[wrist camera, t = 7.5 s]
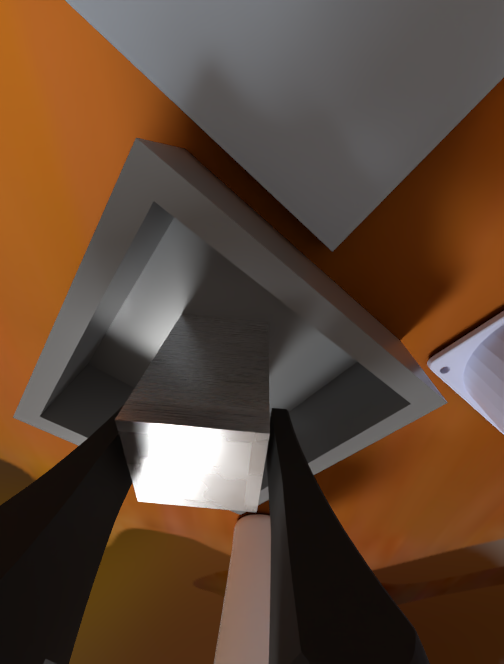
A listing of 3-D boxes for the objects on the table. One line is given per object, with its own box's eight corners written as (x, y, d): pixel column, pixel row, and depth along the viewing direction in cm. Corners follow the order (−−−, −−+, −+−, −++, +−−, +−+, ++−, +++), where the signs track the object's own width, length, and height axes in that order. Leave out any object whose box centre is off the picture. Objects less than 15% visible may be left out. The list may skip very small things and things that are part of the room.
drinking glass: (215, 522, 28) (171, 818, 15) (256, 500, 25) (245, 845, 12) (263, 542, 30) (259, 817, 17) (306, 524, 27) (340, 840, 14)
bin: (400, 340, 14) (447, 402, 11) (245, 451, 21) (240, 514, 17) (184, 148, 10) (136, 137, 6) (71, 359, 16) (13, 417, 13)
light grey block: (268, 321, 14) (269, 433, 8) (260, 387, 16) (256, 512, 10) (181, 314, 14) (114, 419, 8) (186, 380, 16) (137, 501, 10)
